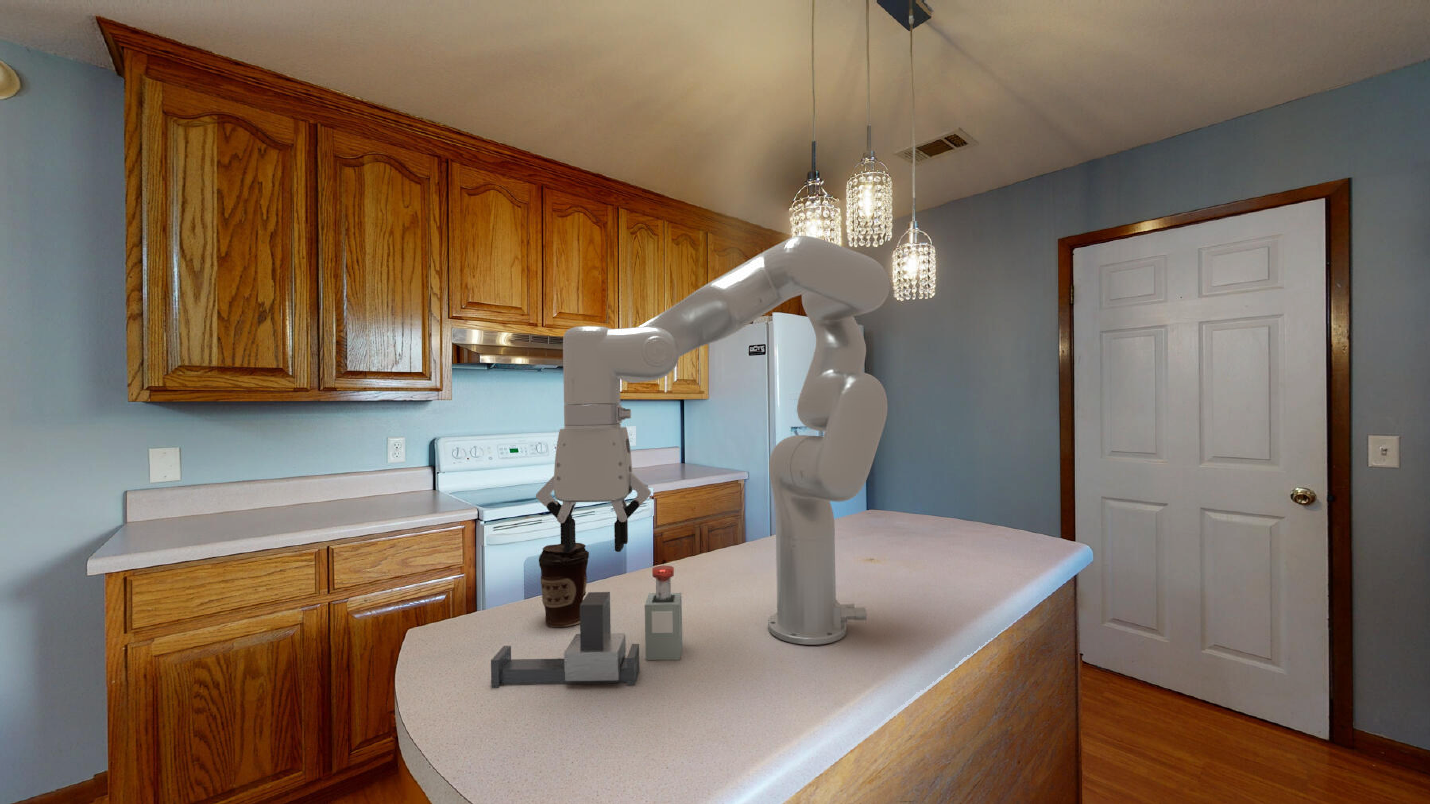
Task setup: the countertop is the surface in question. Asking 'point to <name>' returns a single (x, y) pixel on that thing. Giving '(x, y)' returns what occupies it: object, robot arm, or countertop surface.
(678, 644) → the grey square housing
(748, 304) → the robot arm
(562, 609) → the coffee cup
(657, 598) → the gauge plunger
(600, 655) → the carriage
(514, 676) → the rail
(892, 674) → the countertop surface
